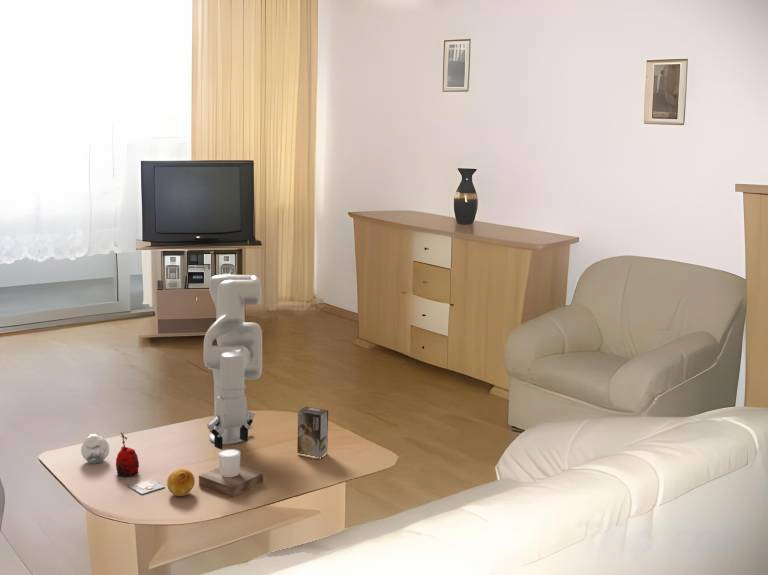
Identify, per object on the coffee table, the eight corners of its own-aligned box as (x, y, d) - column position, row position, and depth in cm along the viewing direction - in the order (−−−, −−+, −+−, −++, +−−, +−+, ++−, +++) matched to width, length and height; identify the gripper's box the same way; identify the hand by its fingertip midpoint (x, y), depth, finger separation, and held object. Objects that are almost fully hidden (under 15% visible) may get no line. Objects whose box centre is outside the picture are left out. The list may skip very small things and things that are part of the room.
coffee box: (328, 454, 306) (329, 410, 303) (320, 460, 301) (321, 415, 298) (304, 449, 310) (305, 405, 307) (296, 455, 304) (297, 411, 301)
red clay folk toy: (143, 473, 284) (143, 428, 281) (127, 480, 278) (126, 435, 275) (127, 467, 288) (126, 423, 285) (110, 474, 282) (109, 429, 279)
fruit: (192, 500, 266) (192, 475, 264) (165, 500, 265) (165, 475, 263) (196, 489, 274) (196, 464, 272) (169, 488, 273) (169, 464, 271)
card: (150, 480, 279) (150, 478, 279) (164, 487, 273) (164, 486, 273) (127, 486, 273) (127, 485, 273) (141, 495, 268) (141, 493, 268)
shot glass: (214, 475, 276) (213, 454, 275) (228, 468, 282) (227, 447, 281) (232, 479, 273) (231, 458, 272) (245, 472, 279) (245, 451, 278)
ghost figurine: (74, 464, 288) (73, 435, 287) (95, 455, 297) (94, 426, 295) (95, 470, 285) (94, 440, 283) (115, 460, 293) (115, 431, 291)
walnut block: (230, 474, 288) (230, 462, 287) (262, 485, 280) (262, 473, 279) (198, 487, 276) (198, 475, 276) (231, 499, 269) (231, 487, 268)
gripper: (246, 383, 281) (246, 434, 285) (201, 394, 269) (201, 447, 272) (261, 389, 276) (260, 441, 280) (215, 400, 264) (215, 454, 267)
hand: (231, 444), depth 276 cm, fingers open, 9 cm apart
